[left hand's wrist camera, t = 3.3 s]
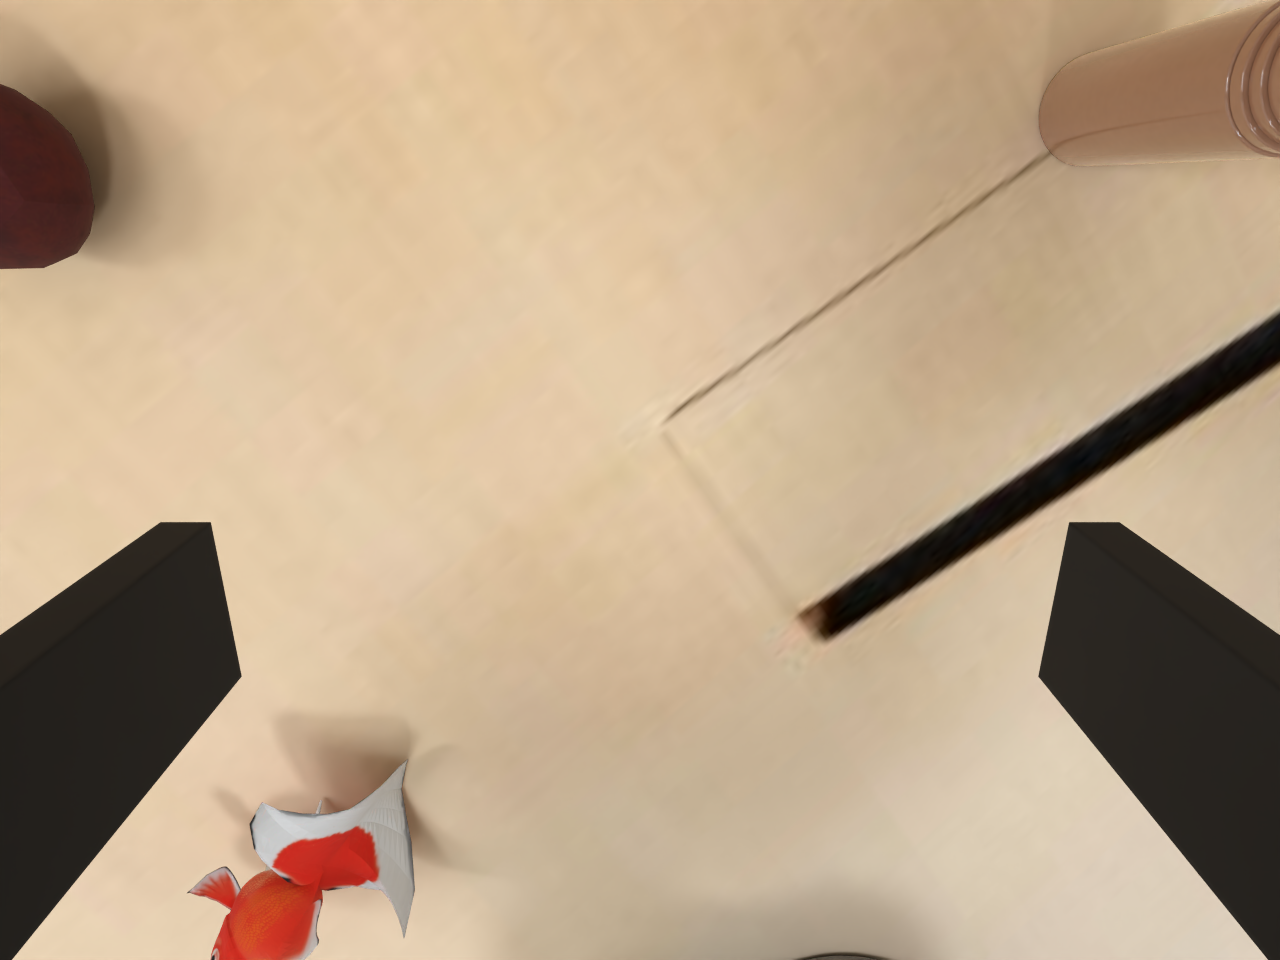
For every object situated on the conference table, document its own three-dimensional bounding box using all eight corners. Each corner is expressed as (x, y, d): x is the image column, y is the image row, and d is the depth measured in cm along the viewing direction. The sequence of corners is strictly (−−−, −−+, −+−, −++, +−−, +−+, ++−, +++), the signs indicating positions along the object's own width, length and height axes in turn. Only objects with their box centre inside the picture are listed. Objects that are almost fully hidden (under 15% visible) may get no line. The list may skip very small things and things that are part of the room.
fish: (105, 858, 44) (109, 1019, 37) (346, 672, 48) (395, 782, 40) (237, 931, 51) (264, 1080, 43) (441, 761, 54) (498, 871, 47)
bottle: (1094, 27, 35) (1484, -109, 19) (1167, 97, 35) (1597, 26, 20) (1016, 122, 36) (1317, 71, 20) (1088, 188, 37) (1431, 190, 21)
